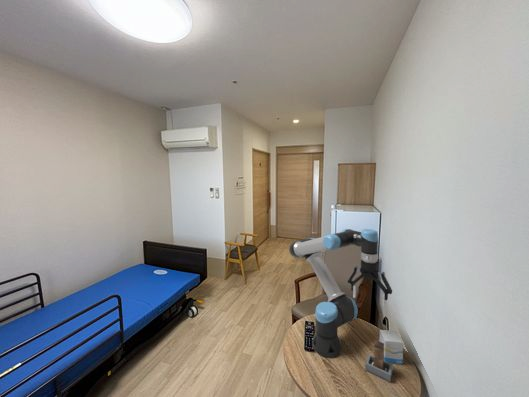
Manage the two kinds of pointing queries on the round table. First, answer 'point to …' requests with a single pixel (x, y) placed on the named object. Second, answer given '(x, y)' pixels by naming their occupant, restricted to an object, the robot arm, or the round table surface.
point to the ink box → (392, 346)
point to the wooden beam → (379, 355)
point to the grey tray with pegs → (384, 373)
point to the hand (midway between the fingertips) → (368, 301)
